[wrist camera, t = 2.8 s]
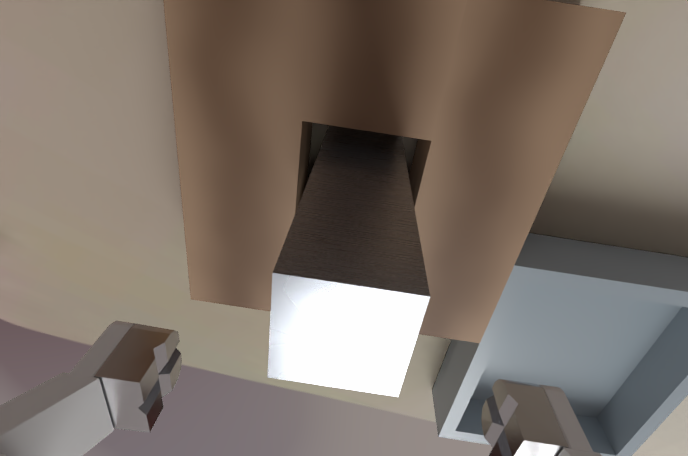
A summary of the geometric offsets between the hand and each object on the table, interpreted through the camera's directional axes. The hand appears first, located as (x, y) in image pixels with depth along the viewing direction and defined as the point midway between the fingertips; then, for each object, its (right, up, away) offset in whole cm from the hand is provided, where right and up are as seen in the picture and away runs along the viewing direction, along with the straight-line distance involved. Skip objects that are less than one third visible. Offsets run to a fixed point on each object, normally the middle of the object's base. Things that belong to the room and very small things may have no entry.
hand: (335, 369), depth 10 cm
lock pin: (+1, +8, +13) cm, 15 cm away
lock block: (+1, +8, +13) cm, 15 cm away
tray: (+16, -4, +18) cm, 24 cm away
